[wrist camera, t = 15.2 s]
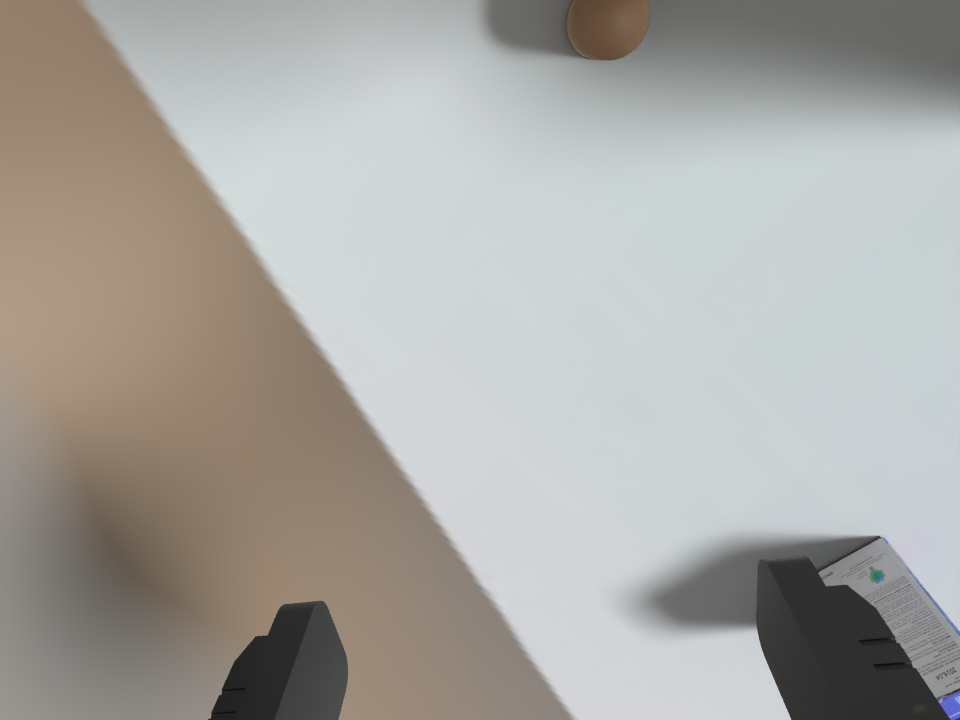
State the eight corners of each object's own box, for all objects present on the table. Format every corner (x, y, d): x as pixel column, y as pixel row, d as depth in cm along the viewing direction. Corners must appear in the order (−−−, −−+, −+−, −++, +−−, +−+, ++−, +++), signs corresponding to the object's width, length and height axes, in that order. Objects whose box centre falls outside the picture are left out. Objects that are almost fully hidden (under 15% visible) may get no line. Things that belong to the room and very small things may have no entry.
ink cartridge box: (806, 629, 53) (902, 815, 40) (770, 594, 51) (859, 776, 38) (915, 573, 50) (1059, 755, 37) (881, 533, 48) (1019, 710, 35)
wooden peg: (630, -22, 32) (647, -33, 28) (634, 53, 34) (651, 52, 30) (562, -9, 33) (569, -18, 29) (569, 65, 34) (577, 66, 30)
